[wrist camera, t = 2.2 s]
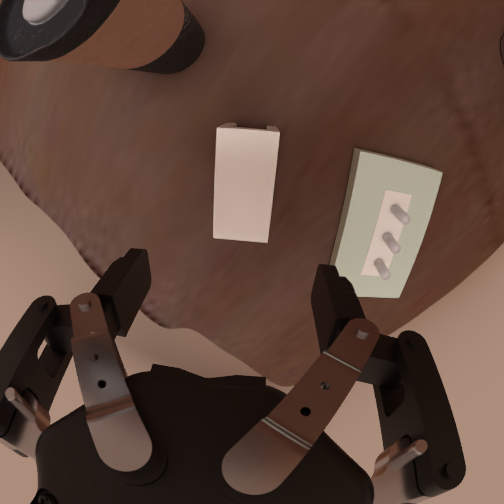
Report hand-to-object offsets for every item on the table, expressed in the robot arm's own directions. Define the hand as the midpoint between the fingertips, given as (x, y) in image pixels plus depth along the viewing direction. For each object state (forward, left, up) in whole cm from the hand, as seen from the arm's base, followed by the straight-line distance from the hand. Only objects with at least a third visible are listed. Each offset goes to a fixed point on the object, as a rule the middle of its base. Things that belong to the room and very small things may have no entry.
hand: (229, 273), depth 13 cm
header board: (+5, +16, -18) cm, 25 cm away
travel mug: (-14, -9, -19) cm, 25 cm away
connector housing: (0, 0, -18) cm, 18 cm away
